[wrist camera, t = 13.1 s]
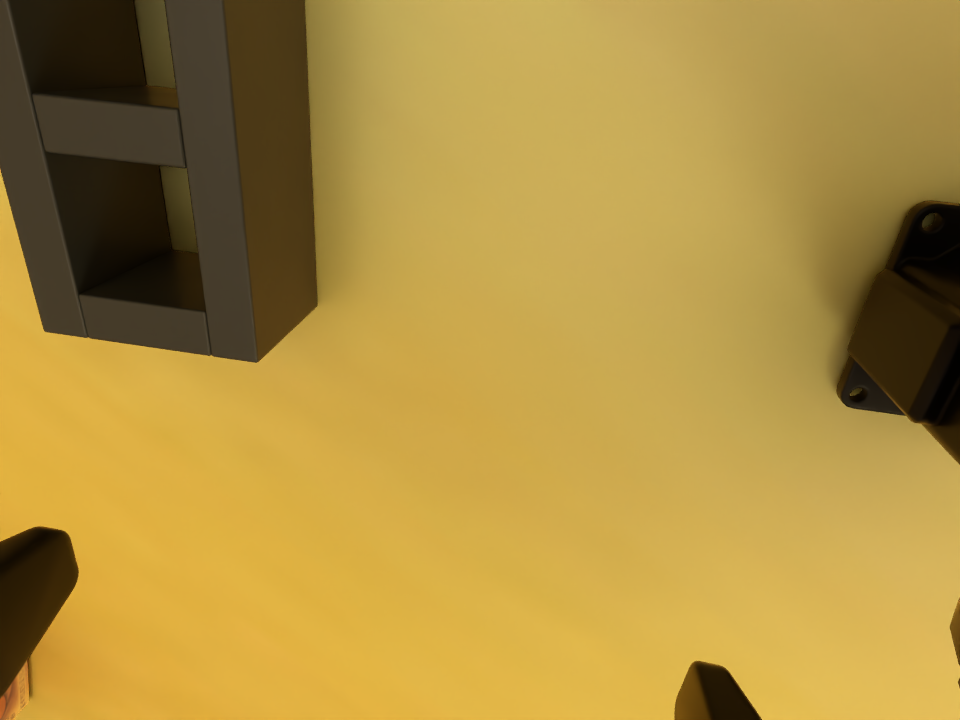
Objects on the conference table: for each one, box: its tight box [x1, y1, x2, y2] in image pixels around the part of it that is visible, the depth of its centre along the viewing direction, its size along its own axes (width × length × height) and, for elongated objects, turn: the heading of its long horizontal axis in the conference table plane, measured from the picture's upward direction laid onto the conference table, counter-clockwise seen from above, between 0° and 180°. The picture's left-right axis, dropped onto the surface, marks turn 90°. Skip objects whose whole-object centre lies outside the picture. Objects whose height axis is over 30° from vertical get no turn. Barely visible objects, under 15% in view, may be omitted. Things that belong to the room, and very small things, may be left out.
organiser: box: [0, 0, 317, 363], centre depth 16 cm, size 7×17×4 cm, turn 176°
